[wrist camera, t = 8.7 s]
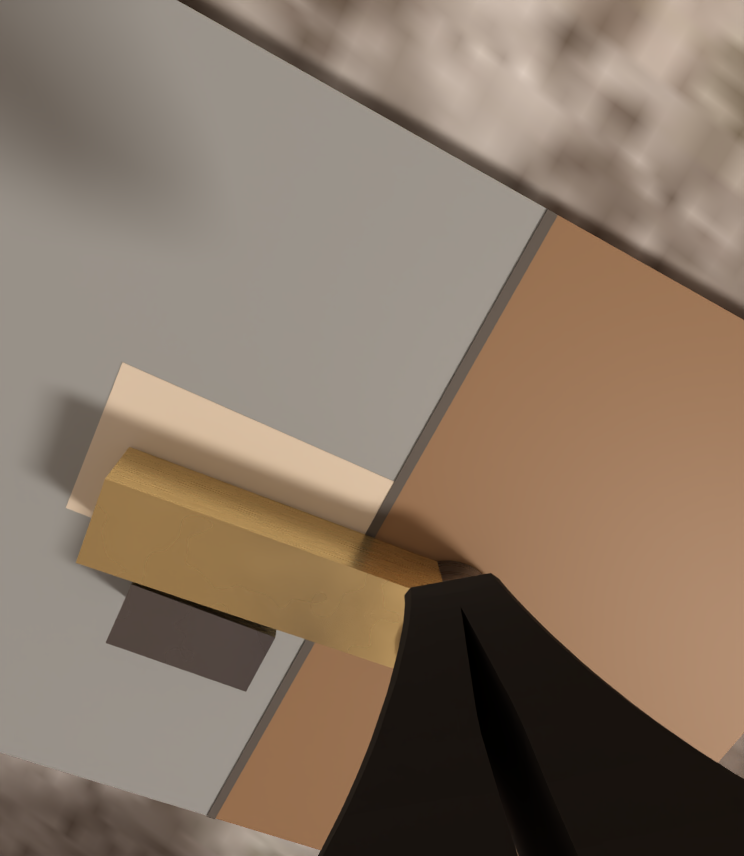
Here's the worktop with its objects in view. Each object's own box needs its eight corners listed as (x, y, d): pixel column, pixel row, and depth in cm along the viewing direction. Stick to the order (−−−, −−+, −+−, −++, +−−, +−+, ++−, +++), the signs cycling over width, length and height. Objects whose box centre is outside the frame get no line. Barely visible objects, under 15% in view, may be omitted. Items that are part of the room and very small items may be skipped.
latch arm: (510, 580, 20) (531, 627, 18) (464, 656, 21) (479, 709, 19) (132, 438, 18) (105, 473, 15) (99, 530, 18) (69, 574, 16)
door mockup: (565, 896, 27) (575, 928, 26) (-167, 666, 21) (-196, 694, 20) (948, 440, 20) (985, 456, 19) (44, -68, 15) (19, -89, 13)
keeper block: (254, 644, 20) (245, 691, 18) (127, 598, 19) (105, 642, 18) (280, 593, 20) (275, 637, 18) (151, 543, 19) (131, 584, 17)
